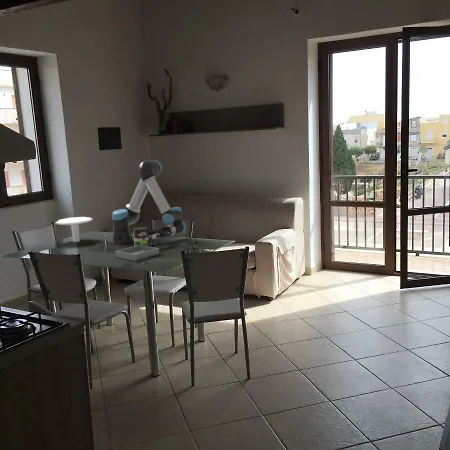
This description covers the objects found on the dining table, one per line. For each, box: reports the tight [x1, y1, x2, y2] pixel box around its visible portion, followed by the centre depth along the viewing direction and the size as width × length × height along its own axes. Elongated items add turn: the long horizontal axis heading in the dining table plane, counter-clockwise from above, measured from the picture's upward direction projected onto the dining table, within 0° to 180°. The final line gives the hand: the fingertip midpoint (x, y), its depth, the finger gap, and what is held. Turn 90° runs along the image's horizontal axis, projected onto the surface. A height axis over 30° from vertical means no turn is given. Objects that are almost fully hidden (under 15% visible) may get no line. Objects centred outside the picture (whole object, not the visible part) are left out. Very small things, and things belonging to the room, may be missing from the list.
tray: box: [114, 245, 160, 262], centre depth 313 cm, size 20×20×4 cm
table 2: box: [54, 216, 94, 243], centre depth 367 cm, size 28×28×17 cm
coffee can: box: [132, 226, 150, 247], centre depth 334 cm, size 10×10×14 cm
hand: (145, 236), depth 336 cm, fingers open, 13 cm apart
